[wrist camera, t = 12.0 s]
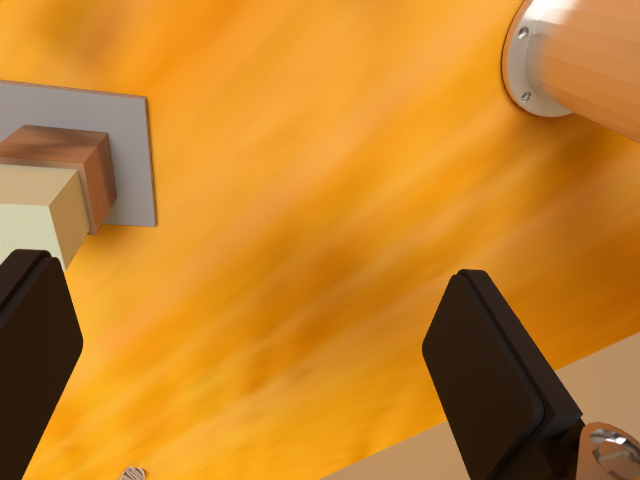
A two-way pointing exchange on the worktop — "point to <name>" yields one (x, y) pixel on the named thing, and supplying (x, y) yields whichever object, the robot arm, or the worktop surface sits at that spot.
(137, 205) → the build pad
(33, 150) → the walnut block
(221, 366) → the worktop surface
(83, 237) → the cream cube
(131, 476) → the paper tube
